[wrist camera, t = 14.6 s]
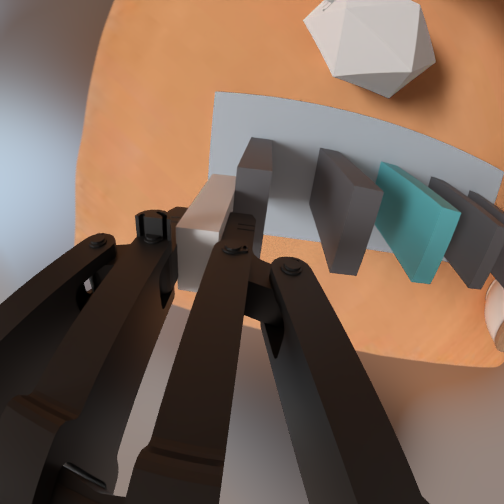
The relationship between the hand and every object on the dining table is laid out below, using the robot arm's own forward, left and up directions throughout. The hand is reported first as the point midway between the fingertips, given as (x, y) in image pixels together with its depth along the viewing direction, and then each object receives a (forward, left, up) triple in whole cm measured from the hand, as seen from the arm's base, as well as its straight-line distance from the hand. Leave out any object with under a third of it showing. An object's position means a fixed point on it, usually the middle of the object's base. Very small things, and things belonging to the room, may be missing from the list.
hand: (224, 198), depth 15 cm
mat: (-13, 0, -8) cm, 15 cm away
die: (-8, -12, -8) cm, 17 cm away
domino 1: (-2, 0, -8) cm, 8 cm away
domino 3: (-18, 0, -8) cm, 20 cm away
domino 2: (-7, 0, -8) cm, 10 cm away
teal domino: (-12, 0, -8) cm, 15 cm away
